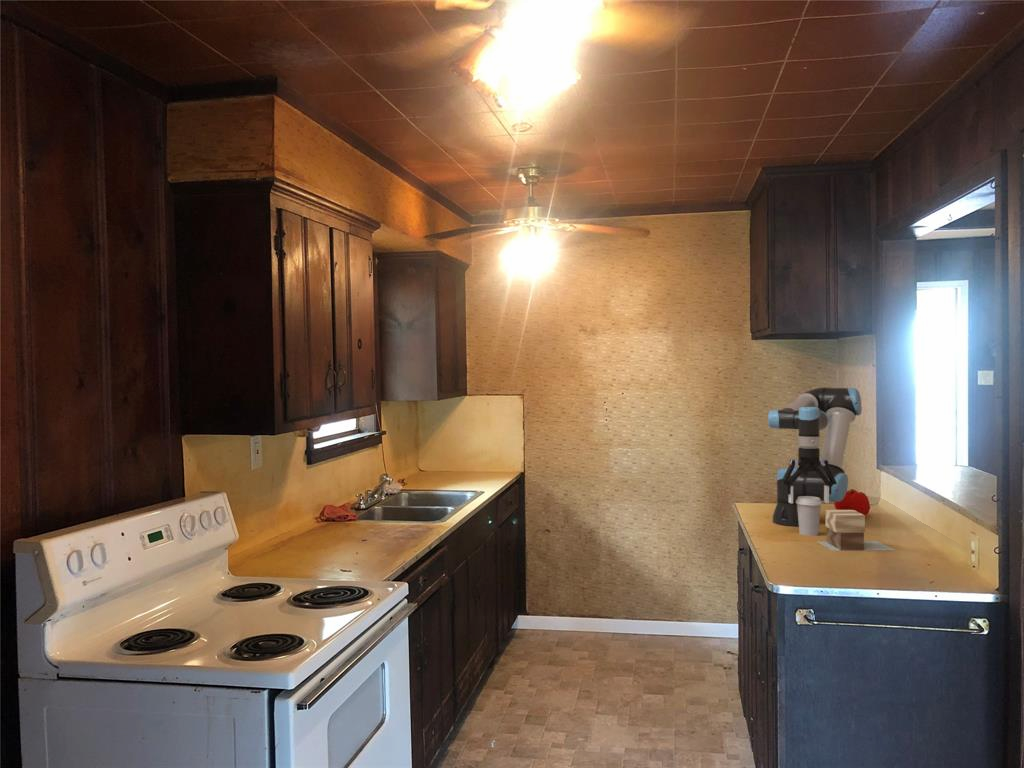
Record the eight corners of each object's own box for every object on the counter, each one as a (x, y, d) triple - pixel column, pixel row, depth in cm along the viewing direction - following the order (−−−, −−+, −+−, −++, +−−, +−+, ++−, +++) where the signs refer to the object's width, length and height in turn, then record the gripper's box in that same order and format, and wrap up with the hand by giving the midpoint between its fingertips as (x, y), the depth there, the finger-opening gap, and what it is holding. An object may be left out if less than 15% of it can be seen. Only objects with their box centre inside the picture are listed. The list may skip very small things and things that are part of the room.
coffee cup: (824, 540, 283) (824, 500, 283) (797, 539, 285) (797, 499, 285) (819, 534, 293) (819, 496, 292) (793, 533, 295) (793, 495, 294)
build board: (817, 544, 276) (817, 541, 276) (877, 544, 276) (877, 541, 276) (832, 553, 263) (832, 550, 263) (895, 553, 263) (895, 549, 263)
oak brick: (825, 526, 274) (825, 509, 274) (853, 526, 274) (853, 509, 273) (835, 532, 264) (835, 515, 264) (864, 532, 264) (864, 515, 263)
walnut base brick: (826, 542, 275) (826, 525, 275) (848, 542, 275) (848, 525, 275) (840, 550, 263) (840, 533, 263) (863, 550, 263) (863, 533, 263)
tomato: (868, 521, 317) (868, 493, 316) (832, 518, 324) (832, 490, 323) (871, 515, 328) (871, 488, 328) (836, 512, 335) (836, 486, 335)
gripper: (779, 448, 284) (779, 504, 285) (846, 448, 284) (845, 504, 285) (772, 446, 292) (772, 501, 292) (837, 446, 292) (837, 501, 292)
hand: (808, 503), depth 288 cm, fingers open, 13 cm apart
